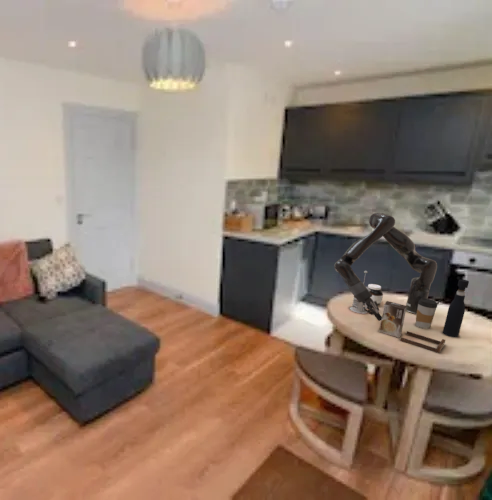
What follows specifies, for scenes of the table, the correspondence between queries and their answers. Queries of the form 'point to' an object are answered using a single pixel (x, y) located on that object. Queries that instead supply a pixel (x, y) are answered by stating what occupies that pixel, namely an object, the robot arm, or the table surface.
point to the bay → (438, 349)
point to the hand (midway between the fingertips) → (381, 320)
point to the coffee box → (392, 319)
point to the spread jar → (376, 293)
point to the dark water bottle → (456, 311)
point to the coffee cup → (425, 313)
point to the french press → (359, 304)
